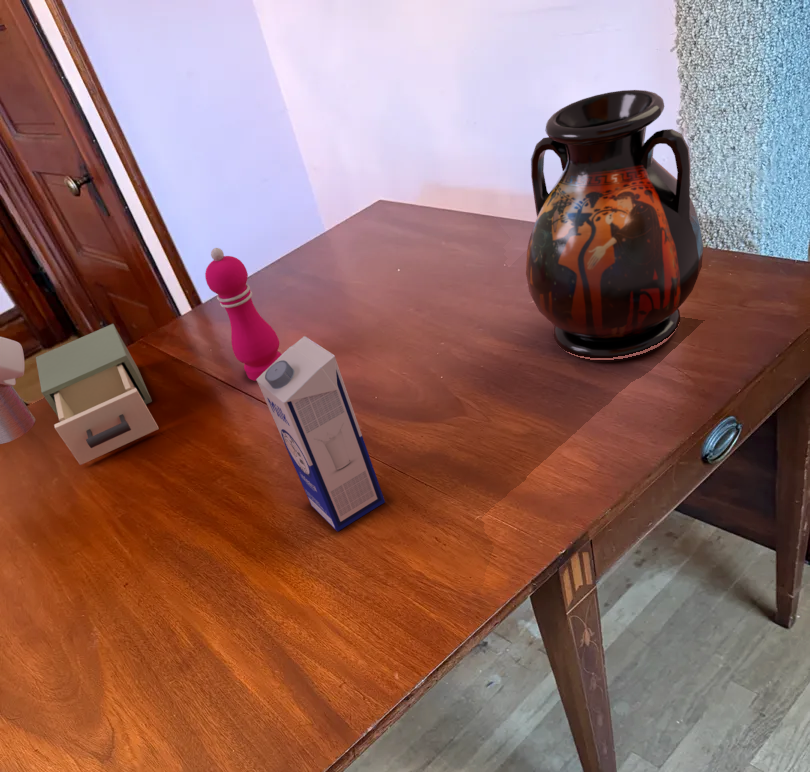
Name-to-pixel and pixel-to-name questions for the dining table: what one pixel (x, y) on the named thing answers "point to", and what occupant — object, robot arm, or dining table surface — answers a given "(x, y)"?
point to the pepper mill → (242, 314)
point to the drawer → (101, 414)
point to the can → (13, 415)
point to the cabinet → (86, 363)
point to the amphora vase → (612, 228)
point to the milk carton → (321, 433)
